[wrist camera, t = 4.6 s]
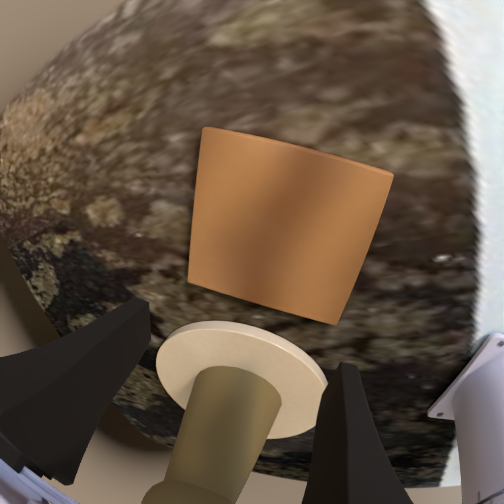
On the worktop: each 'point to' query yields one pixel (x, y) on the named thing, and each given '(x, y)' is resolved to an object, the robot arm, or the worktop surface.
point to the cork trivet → (282, 223)
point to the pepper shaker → (218, 438)
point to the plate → (245, 368)
